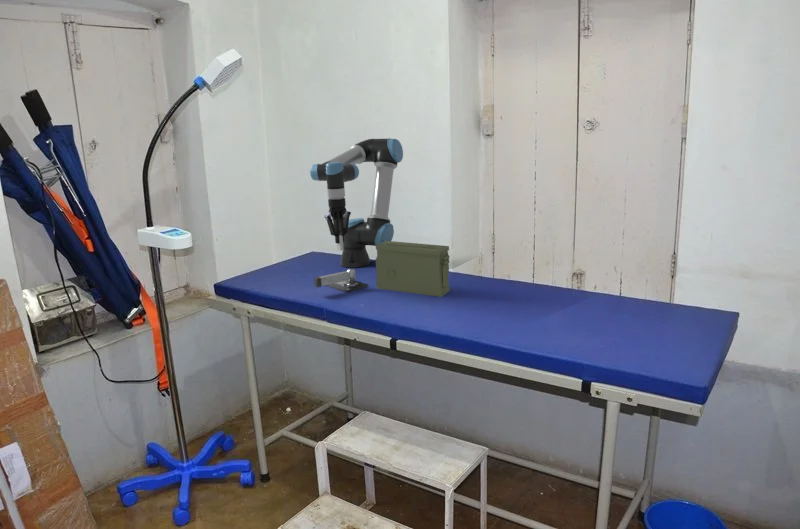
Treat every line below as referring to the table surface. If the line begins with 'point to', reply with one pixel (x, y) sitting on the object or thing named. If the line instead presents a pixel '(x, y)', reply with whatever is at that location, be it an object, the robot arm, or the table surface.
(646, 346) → the table surface
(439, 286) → the ammunition box
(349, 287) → the plate
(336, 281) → the grey long bar
